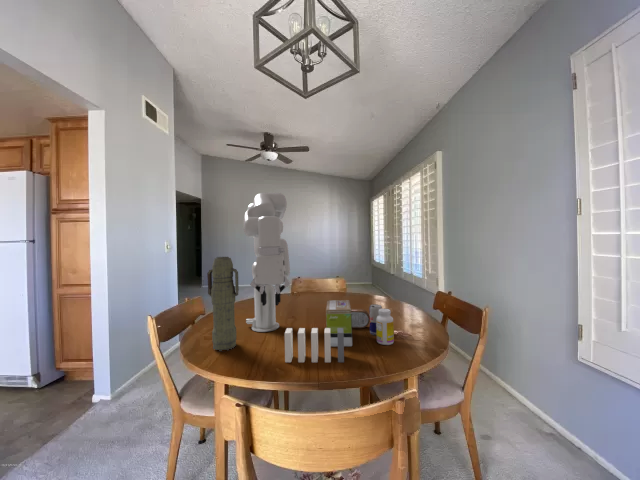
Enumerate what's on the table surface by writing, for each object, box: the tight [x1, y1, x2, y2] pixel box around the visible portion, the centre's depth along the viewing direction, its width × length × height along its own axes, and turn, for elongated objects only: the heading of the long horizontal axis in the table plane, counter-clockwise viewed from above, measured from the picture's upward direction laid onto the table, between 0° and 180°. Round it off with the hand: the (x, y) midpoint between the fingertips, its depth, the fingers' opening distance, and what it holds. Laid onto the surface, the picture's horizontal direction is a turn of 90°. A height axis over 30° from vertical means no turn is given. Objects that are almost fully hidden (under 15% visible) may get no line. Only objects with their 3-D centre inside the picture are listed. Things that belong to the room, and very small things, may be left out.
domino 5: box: [337, 328, 345, 363], centre depth 98 cm, size 2×5×10 cm, turn 177°
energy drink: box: [368, 303, 383, 336], centre depth 122 cm, size 5×5×12 cm
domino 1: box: [284, 327, 294, 363], centre depth 98 cm, size 2×5×10 cm, turn 178°
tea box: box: [325, 299, 353, 348], centre depth 116 cm, size 15×10×15 cm
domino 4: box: [323, 327, 332, 363], centre depth 98 cm, size 2×5×10 cm, turn 178°
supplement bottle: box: [376, 308, 395, 346], centre depth 112 cm, size 7×7×13 cm
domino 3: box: [310, 327, 319, 363], centre depth 98 cm, size 2×5×10 cm, turn 178°
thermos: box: [206, 256, 240, 352], centre depth 110 cm, size 9×12×35 cm
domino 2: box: [297, 327, 306, 363], centre depth 98 cm, size 2×5×10 cm, turn 178°
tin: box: [351, 308, 370, 329], centre depth 130 cm, size 15×3×8 cm, turn 84°
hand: (270, 304), depth 98 cm, fingers open, 3 cm apart
